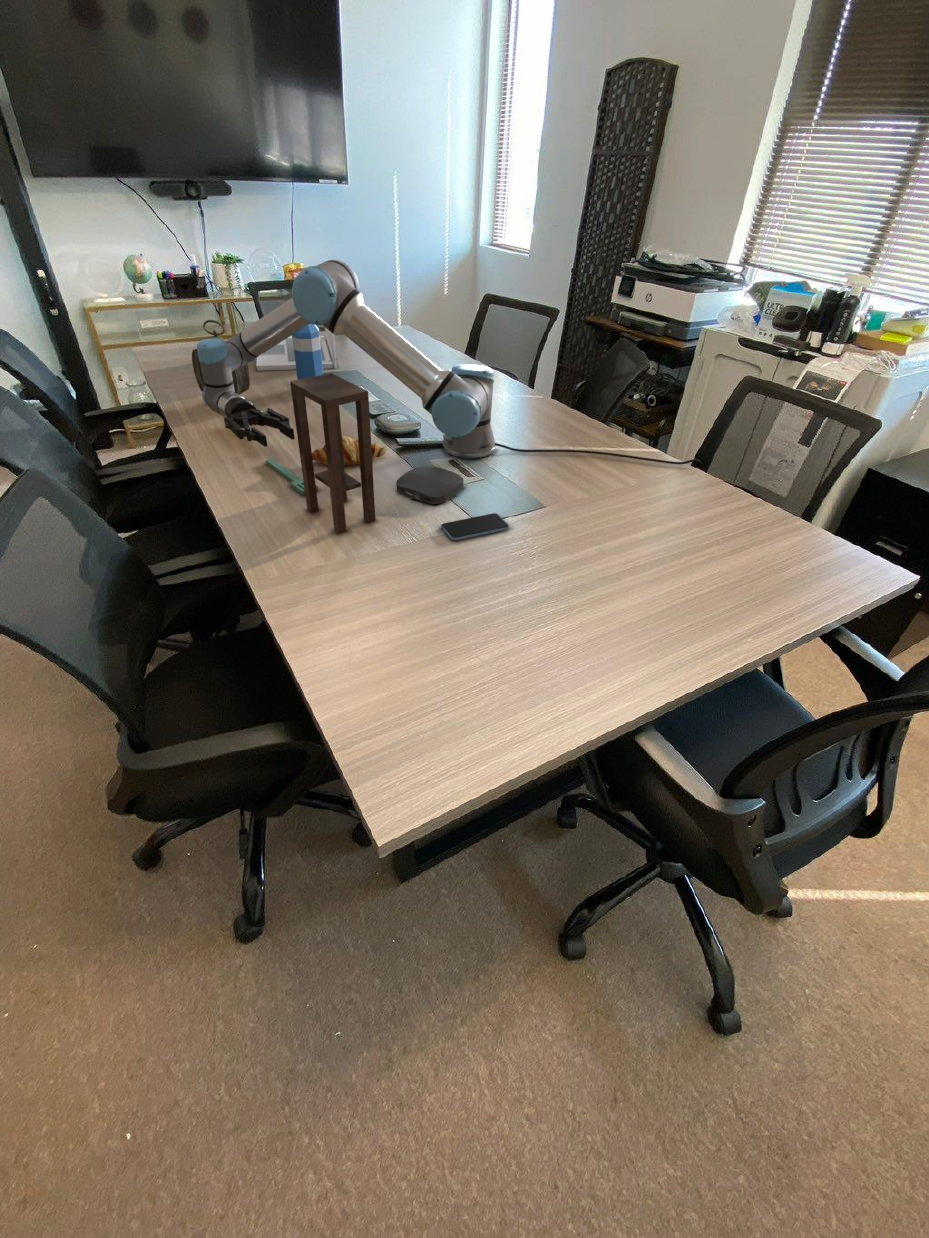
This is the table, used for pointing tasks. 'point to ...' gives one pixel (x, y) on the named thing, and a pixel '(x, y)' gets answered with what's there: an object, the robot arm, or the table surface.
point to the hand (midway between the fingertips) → (279, 437)
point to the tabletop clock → (239, 375)
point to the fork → (289, 476)
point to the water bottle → (307, 352)
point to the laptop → (285, 359)
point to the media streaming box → (430, 484)
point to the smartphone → (474, 526)
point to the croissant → (348, 452)
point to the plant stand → (334, 443)
